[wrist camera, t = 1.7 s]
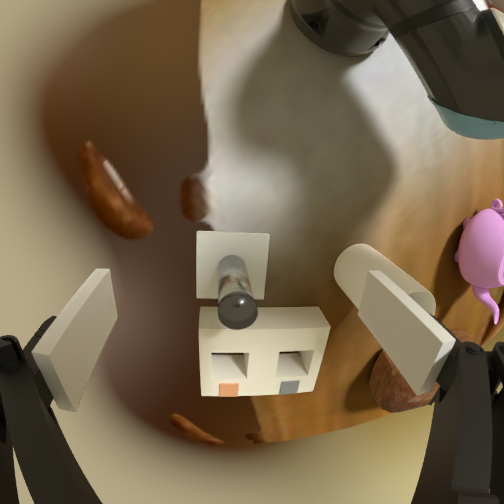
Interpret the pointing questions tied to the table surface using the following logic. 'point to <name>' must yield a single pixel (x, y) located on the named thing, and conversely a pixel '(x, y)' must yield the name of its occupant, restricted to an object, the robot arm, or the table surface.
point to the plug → (235, 294)
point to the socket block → (262, 352)
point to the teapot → (483, 253)
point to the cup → (366, 258)
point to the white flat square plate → (230, 243)
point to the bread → (399, 384)
